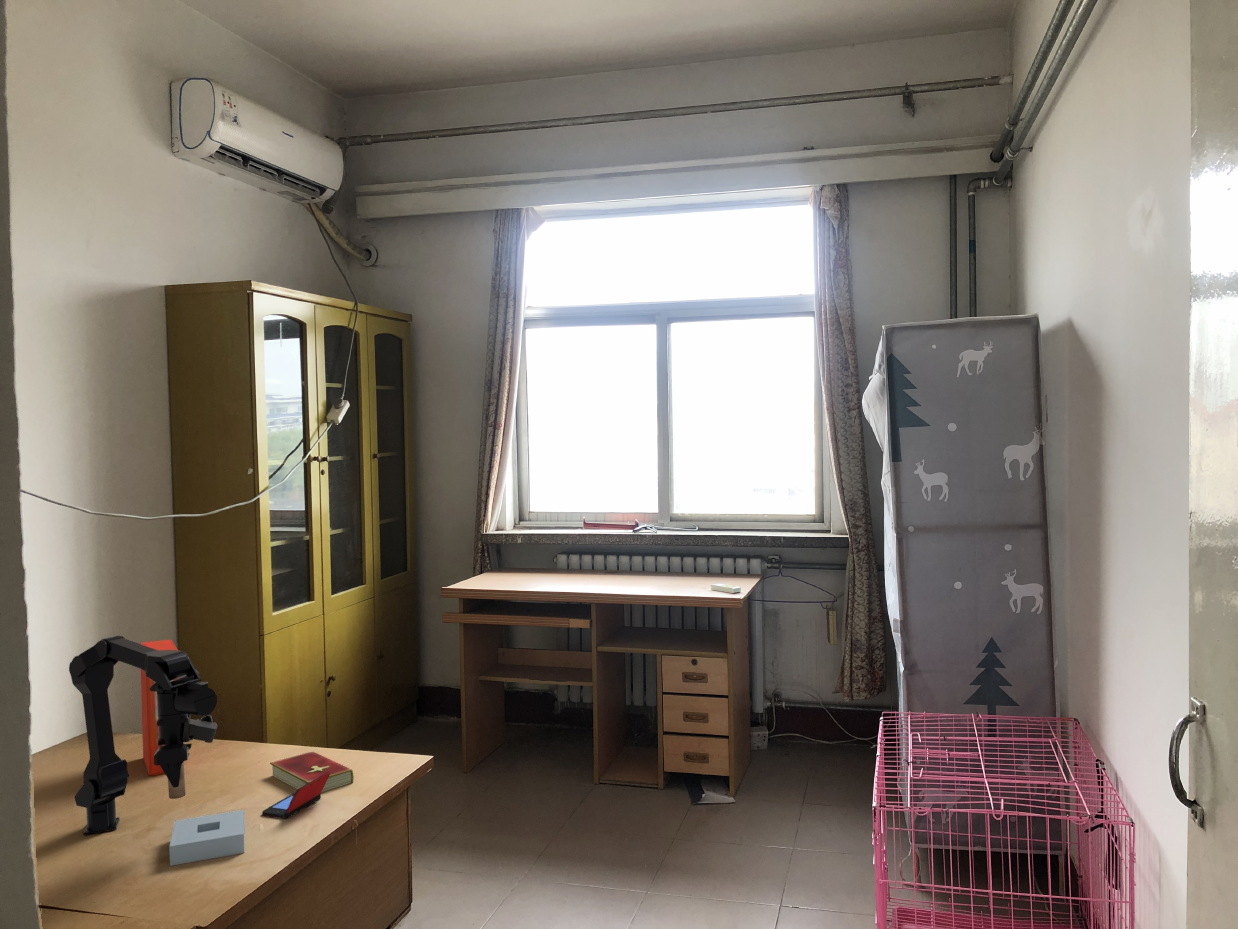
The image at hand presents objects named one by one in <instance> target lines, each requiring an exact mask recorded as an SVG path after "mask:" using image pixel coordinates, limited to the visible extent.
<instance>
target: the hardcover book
mask: <svg viewBox="0 0 1238 929" xmlns="http://www.w3.org/2000/svg"><path fill="white" fill-rule="evenodd" d="M269 765H271V767H272V777H274V778H276V779H277V780H279V781H281V782H283V783H285V784H287V785H289V786H290V787H291V788H292V787H293V788H294V789H296V790H298V789H299V788H301V787H303V786H304V785H306V784H308V783H310V782H311V781H313V780H315V779H317V778H318V777H320V776H322V775H324V774H325V773H327V772H330V776H329V778H328V780H327V782H326V784H325V786H324V788H323V790H322V792H321V793H323V792H326V791H330V790H333V789H336V788H340V787H343V786H346V785H348V784H353V783H354V776H355V775H354V771H353V769H351V768H350V767H348V766H346V765H343V764H341V763H339V762H337V761H335V760H332V759H331V758H328V757H326V756H325V755H322V754H319V753H318V752H316V751H312V750H310V751H306V752H304V753H300V754H296V755H292V756H290V757H286V758H283V759H279V760H276V761H275V760H274V761H271V762H270V763H269Z"/></svg>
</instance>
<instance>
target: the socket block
mask: <svg viewBox="0 0 1238 929" xmlns="http://www.w3.org/2000/svg"><path fill="white" fill-rule="evenodd" d="M245 822H246V821H245V809H238V810H233V811H227V812H221V813H219V812H218V813H215V814H207V815H202V816H197V817H189V818H182V819H178V820H177V819H176V820H174V822H173V828H172V833H171V837H170V841H169V866H170V867H172V866H177V865H181V864H182V865H184V864H189V863H192V862H198V861H200V862H201V861H205V860H210V859H218V858H221V857H222V858H223V857H227V856H234V855H238V854H244V853H245V840H246V839H245V838H246V837H245V833H246V832H245V831H246V829H245V828H246V823H245Z"/></svg>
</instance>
